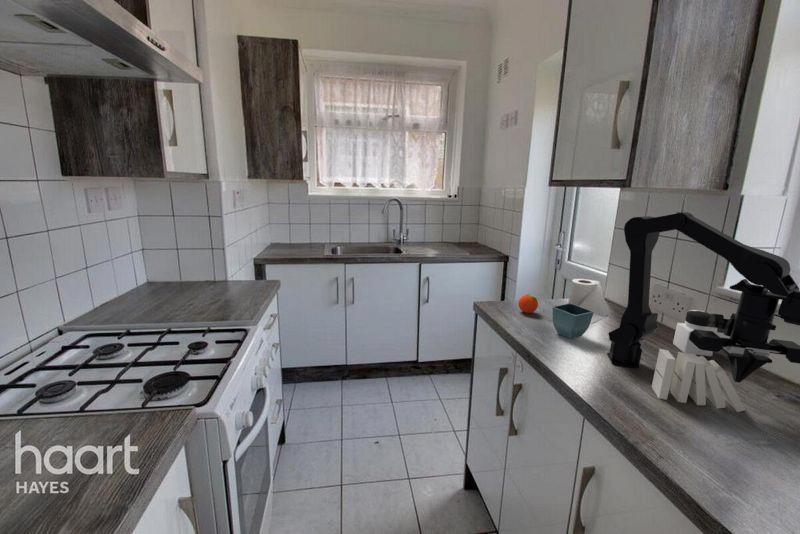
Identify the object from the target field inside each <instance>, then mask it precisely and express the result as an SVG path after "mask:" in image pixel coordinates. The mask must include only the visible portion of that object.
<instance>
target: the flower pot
mask: <svg viewBox="0 0 800 534" xmlns="http://www.w3.org/2000/svg"><path fill="white" fill-rule="evenodd" d="M594 313H595V312H594V311H593V310H590V309H587V308H586V307H583V306H580V305H577V304H574V303H571V302H570V303H564V304H560V305H554V306H552V323H553V326H554V330H555V331H556V333H558V335H561V336H564V337H565V338H567V339H571V340H572V339H576V338H580V337H582V336H583V335H584V334H585V333H586V332H587V330H588V329H589V328H590V325H591V322H592V318H593V316H594Z"/></svg>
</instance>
